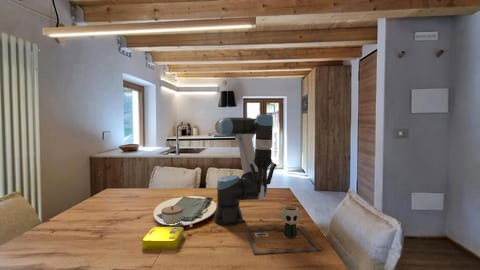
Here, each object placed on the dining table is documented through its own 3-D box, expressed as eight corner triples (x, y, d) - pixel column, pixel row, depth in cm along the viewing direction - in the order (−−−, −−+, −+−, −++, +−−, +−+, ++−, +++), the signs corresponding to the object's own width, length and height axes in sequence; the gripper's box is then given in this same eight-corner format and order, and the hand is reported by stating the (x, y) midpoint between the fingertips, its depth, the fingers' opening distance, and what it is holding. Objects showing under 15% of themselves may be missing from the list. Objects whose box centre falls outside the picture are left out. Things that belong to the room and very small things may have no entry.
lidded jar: (187, 223, 144) (186, 205, 143) (169, 229, 136) (168, 210, 135) (175, 218, 151) (175, 201, 150) (157, 224, 143) (157, 206, 143)
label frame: (253, 254, 110) (253, 253, 110) (245, 229, 135) (245, 228, 135) (321, 250, 113) (321, 249, 113) (301, 227, 138) (301, 225, 138)
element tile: (153, 235, 130) (152, 225, 130) (184, 235, 130) (184, 225, 130) (140, 250, 116) (140, 239, 115) (176, 250, 115) (176, 239, 115)
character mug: (279, 239, 124) (280, 210, 123) (277, 232, 131) (277, 205, 131) (304, 238, 125) (304, 210, 124) (300, 232, 132) (300, 205, 131)
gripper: (251, 149, 122) (249, 202, 123) (279, 149, 125) (277, 201, 126) (247, 147, 129) (245, 197, 131) (274, 147, 132) (271, 196, 134)
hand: (261, 199), depth 129 cm, fingers closed
